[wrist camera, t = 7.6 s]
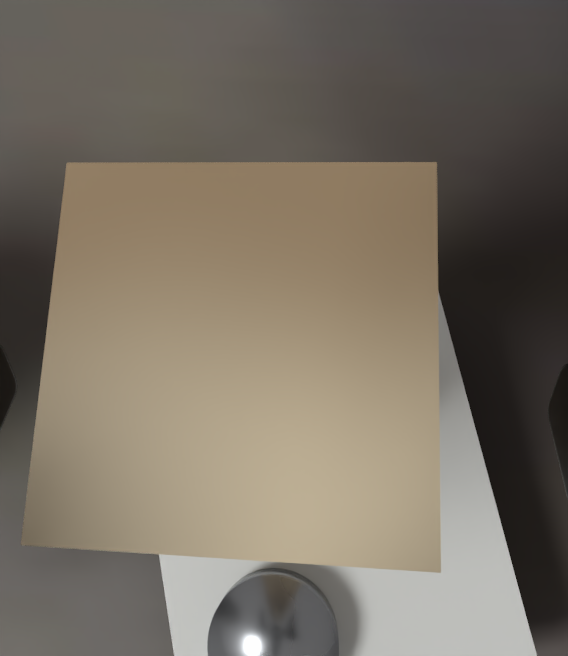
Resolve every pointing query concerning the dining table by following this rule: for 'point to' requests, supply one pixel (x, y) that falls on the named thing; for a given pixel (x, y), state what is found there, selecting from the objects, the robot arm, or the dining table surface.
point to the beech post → (243, 365)
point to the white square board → (396, 585)
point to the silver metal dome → (273, 618)
